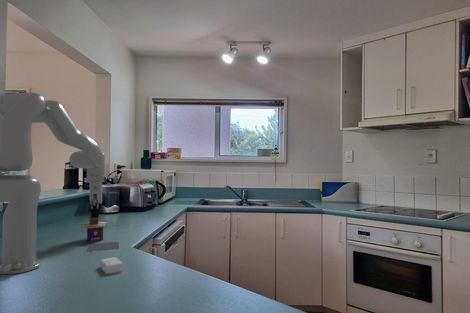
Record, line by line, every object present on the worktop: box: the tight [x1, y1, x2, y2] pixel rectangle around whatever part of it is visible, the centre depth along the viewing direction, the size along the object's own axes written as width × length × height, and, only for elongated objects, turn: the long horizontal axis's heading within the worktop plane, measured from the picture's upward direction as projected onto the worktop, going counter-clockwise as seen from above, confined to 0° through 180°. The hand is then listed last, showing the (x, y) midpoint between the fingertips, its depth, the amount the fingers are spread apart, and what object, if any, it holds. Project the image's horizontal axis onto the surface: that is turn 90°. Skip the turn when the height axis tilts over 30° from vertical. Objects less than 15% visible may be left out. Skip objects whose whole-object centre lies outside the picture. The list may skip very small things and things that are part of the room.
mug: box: [86, 227, 104, 243], centre depth 144 cm, size 7×10×7 cm
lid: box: [80, 212, 108, 229], centre depth 144 cm, size 11×11×6 cm
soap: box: [99, 256, 124, 275], centre depth 106 cm, size 9×6×3 cm, turn 35°
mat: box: [86, 241, 120, 253], centre depth 132 cm, size 12×12×1 cm
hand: (95, 215), depth 144 cm, fingers open, 9 cm apart
